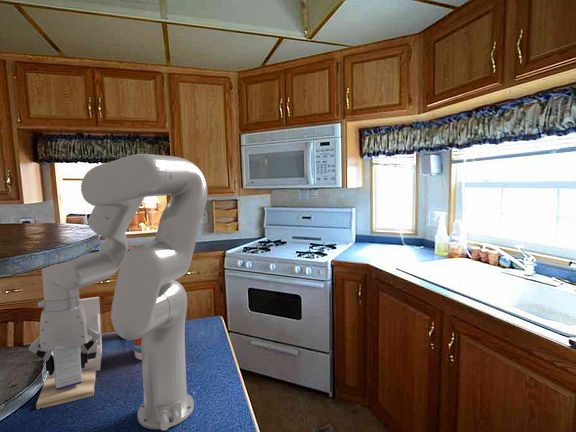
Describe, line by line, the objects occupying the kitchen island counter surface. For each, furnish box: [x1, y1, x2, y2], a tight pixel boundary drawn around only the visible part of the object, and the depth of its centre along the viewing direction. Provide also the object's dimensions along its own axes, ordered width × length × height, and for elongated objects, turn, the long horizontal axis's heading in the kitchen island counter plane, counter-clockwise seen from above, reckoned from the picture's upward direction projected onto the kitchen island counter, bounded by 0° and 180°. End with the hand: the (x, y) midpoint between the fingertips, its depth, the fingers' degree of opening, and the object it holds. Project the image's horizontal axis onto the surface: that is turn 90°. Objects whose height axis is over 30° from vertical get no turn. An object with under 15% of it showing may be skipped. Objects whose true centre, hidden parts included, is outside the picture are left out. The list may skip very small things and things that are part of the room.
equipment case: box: [46, 296, 103, 379], centre depth 103 cm, size 16×14×18 cm
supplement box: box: [53, 346, 82, 391], centre depth 90 cm, size 6×6×12 cm
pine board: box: [35, 369, 97, 410], centre depth 91 cm, size 12×12×1 cm
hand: (67, 368), depth 91 cm, fingers closed on supplement box, 6 cm apart
